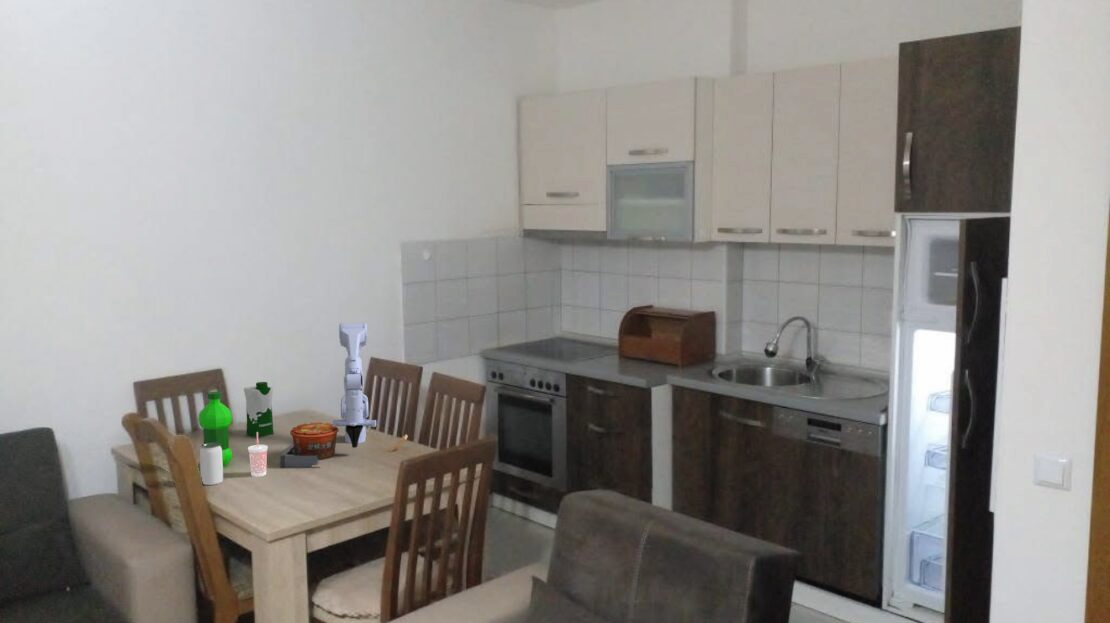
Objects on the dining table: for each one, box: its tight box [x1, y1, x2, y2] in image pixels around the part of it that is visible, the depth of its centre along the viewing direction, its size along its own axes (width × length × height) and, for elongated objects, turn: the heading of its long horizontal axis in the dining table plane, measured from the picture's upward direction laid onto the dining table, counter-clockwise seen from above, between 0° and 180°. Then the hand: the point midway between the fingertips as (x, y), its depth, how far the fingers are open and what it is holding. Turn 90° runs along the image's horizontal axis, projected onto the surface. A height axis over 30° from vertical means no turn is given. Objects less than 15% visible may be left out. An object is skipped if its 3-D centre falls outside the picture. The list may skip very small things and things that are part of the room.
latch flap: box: [387, 434, 409, 452], centre depth 307 cm, size 5×8×1 cm
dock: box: [279, 442, 319, 469], centre depth 299 cm, size 22×12×4 cm, turn 2°
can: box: [199, 443, 224, 486], centre depth 272 cm, size 6×6×12 cm
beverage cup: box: [247, 432, 269, 478], centre depth 281 cm, size 6×6×14 cm
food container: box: [289, 422, 339, 461], centre depth 299 cm, size 16×16×11 cm
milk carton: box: [243, 381, 274, 438], centre depth 327 cm, size 9×9×20 cm
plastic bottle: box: [198, 390, 233, 469], centre depth 287 cm, size 10×10×25 cm
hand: (354, 446), depth 300 cm, fingers closed
